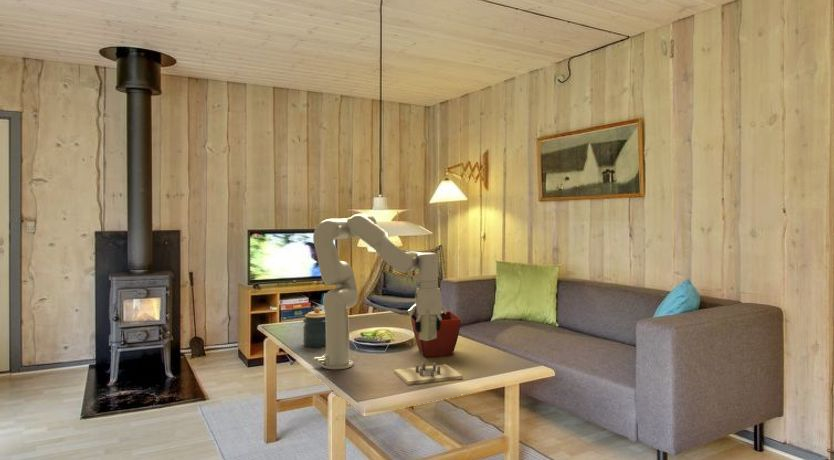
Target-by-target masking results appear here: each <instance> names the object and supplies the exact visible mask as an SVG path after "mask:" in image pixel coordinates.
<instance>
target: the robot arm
mask: <svg viewBox="0 0 834 460" xmlns="http://www.w3.org/2000/svg"><path fill="white" fill-rule="evenodd" d="M312 236H313V237H312V238H313V239H312V241H313V244H314V248H315V252H316V257H317V262H318V266H319V268H318V269H319V272H320V277H321V280H322V282H323V283H324V284H325V285H326V286H331V287H332V286H335V288H332V289H330V290H329V291H327V292H326V293H325V295H324V297H323V301H322V304H323V305H322V306H323V310H324V312H325V321H326V346H325V353H324V354H323V355H321V356H314V357H313V362H314V363H318V364H319V363H321V367H322V368H324V369H328V370H344V369H349V368H352V367H353V365H354V362H353V360H351V359H350V320H349V319H350V318H349V314H348V311H347V310H348V309H351V308H353V307H354V306H356V304H357V303H358V301H359V292H358V288H357V283H356V278H355V274H354V270H353V268H352V266H351V265H350V263H348V261H343V260H340V258H339V251H338V249H337V246H336V245H335V243H334V241H335V240H345V239H350V238H351V239H352V238H359V239H360V240H361V241H362V242H364V243H365V244H367V245H368V246H369V247H370V248H372V249H374V250H375V252H376V253H377V254H378V256H379V257H380V258H381V260H383V261H384V262H385V263H387V264H388V265H390V267H392V268H393V269H394V270H396V271H398V272H401V273H408V272H411V271H418V272H417V273H418V274H417V277H418V279H417V281H416V282H414V286H415V287H417V288H416V291H415V295H414V304H413V305H412V306H411V307H410V308H409V309H408V310H407V313H408V315H409V316H410V318H411V317H412V318H413V319H414V320H415V330H416V331H417V332H420V322H419V320H420V318H421V316H424V315H426V309H430V315H437V330H438V331H440V328H441V320H442V318H443V317H444V316H445V314H446V312H447V311H449V309H448V308H447V307H446V306H445V305H444V304H443V300H442V292H441V288H440V287H439V285H438V284H439V281H438V280H439V256H438V254H437V253H436V252H428V251H427V252H420V251H413V250H412V251H403V250H402V249H401V248H399V247H398V246H397V245H395V244H394V243H393V241H391V239H390V234H389V232H388V231H387V230H385V229H384V228H382V227H381V226H379V225H378V223H377V220H376V218H375V217H374V216H373V215H372V214H368V213H357V214H354V215H352V216H351V217H347V218H328V219H325V220H323V221H321V222H319V224H317V226H316V227H315V228H314V232H313V235H312ZM413 313H416V315H414V314H413Z"/></svg>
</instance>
